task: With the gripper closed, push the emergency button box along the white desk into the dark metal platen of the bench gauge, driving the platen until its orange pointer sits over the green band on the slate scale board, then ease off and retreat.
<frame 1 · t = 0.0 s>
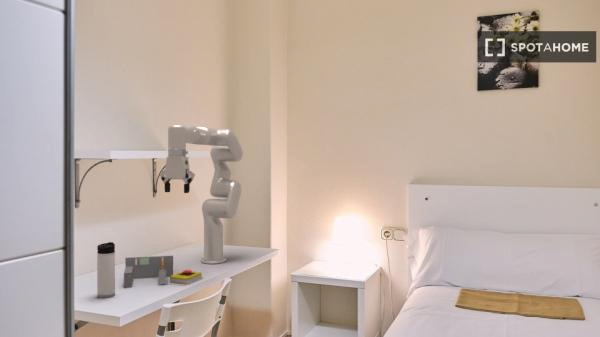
hand: (177, 192, 216), 37 cm above the table, tool pointing down, fingers open, 9 cm apart
travel mug: (106, 296, 188), on the table
emergency button: (185, 282, 211), on the table
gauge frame: (149, 277, 217), on the table
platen: (162, 272, 209), point 4 cm above the table, slide at 0.0 cm
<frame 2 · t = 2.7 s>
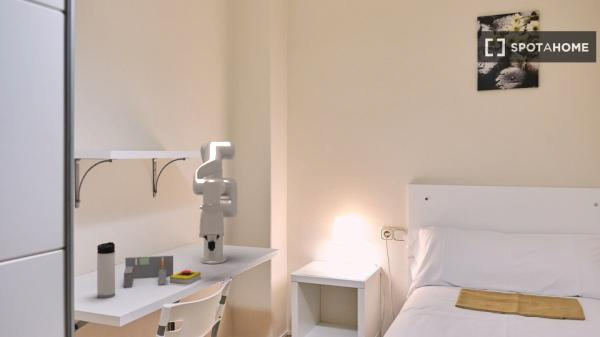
hand: (211, 250, 213), 13 cm above the table, tool pointing down, fingers closed
nothing on the table moved.
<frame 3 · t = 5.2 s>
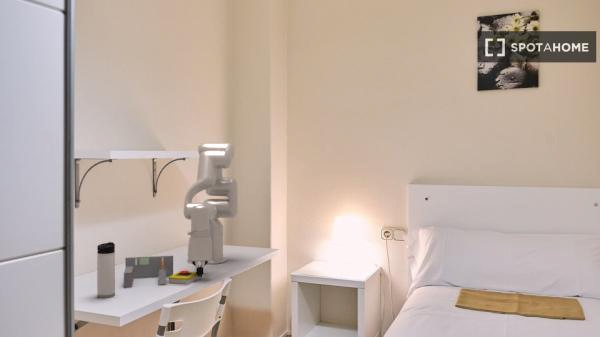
hand: (199, 276, 213), 2 cm above the table, tool pointing down, fingers closed
emergency button: (183, 282, 211), on the table, touching gripper
everything else where it was.
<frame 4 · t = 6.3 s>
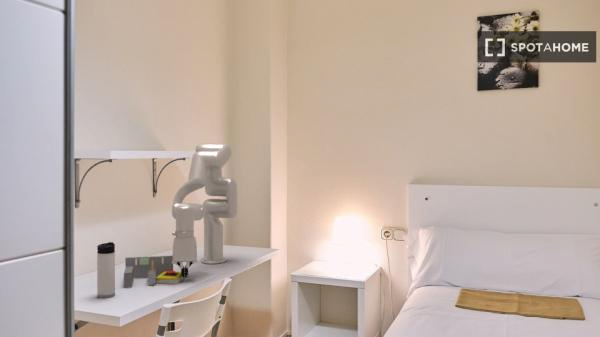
hand: (184, 277, 211), 2 cm above the table, tool pointing down, fingers closed
emergency button: (169, 282, 211), on the table
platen: (152, 272, 208), point 4 cm above the table, slide at 4.2 cm
everything else where it was.
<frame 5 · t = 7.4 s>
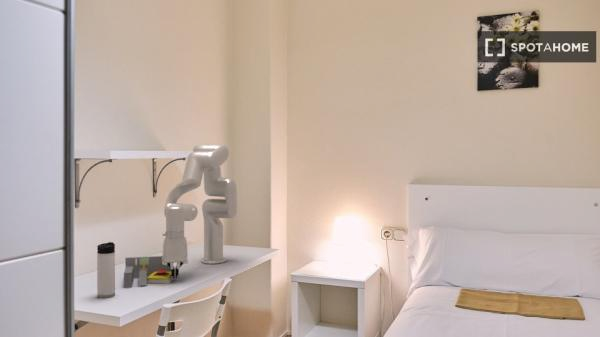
hand: (175, 277, 210), 2 cm above the table, tool pointing down, fingers closed
emergency button: (160, 282, 211), on the table, touching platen
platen: (143, 273, 207), point 4 cm above the table, slide at 7.8 cm, touching emergency button
everything else where it was.
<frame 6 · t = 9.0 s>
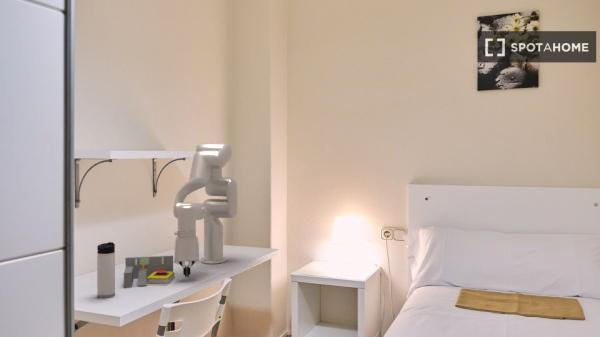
hand: (186, 276, 212), 2 cm above the table, tool pointing down, fingers closed
emergency button: (160, 282, 210), on the table
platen: (142, 273, 207), point 4 cm above the table, slide at 8.0 cm
everything else where it was.
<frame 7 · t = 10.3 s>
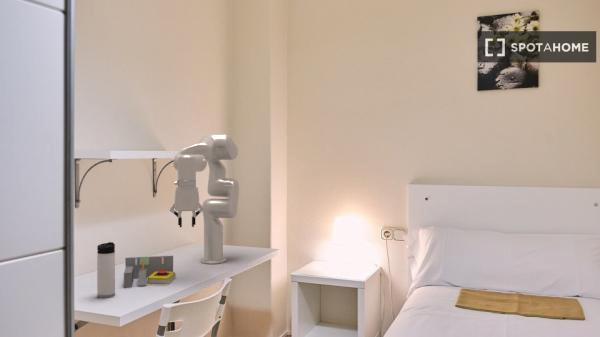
hand: (186, 226, 211), 23 cm above the table, tool pointing down, fingers open, 4 cm apart
nothing on the table moved.
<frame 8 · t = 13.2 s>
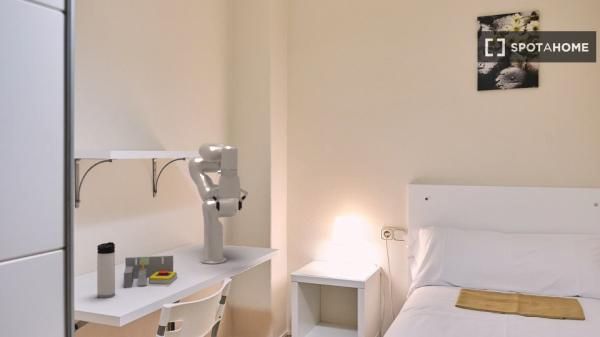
hand: (229, 210, 228), 28 cm above the table, tool pointing down, fingers open, 9 cm apart
at the end: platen slide at 8.0 cm; emergency button moved 9.5 cm from its start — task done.
